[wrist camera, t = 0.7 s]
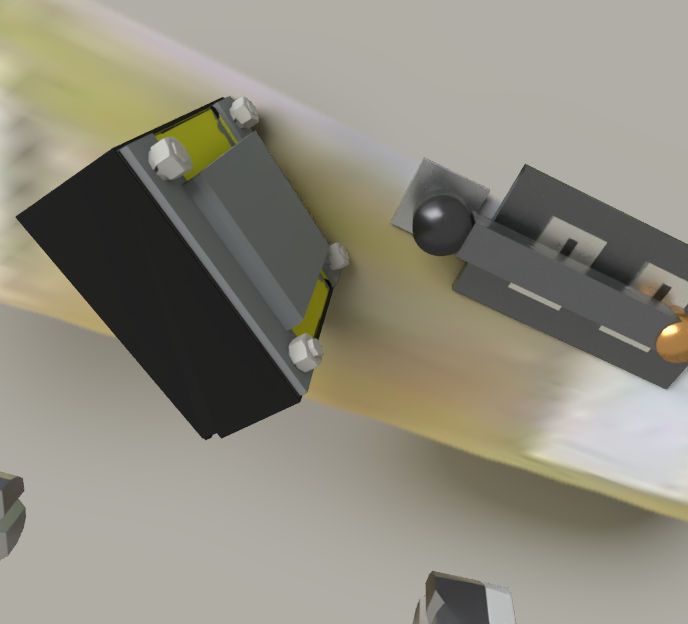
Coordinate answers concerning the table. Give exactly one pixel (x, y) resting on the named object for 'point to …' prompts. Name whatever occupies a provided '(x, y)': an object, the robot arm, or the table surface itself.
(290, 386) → the electrical component
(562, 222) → the plate
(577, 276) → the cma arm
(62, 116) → the table surface
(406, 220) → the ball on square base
